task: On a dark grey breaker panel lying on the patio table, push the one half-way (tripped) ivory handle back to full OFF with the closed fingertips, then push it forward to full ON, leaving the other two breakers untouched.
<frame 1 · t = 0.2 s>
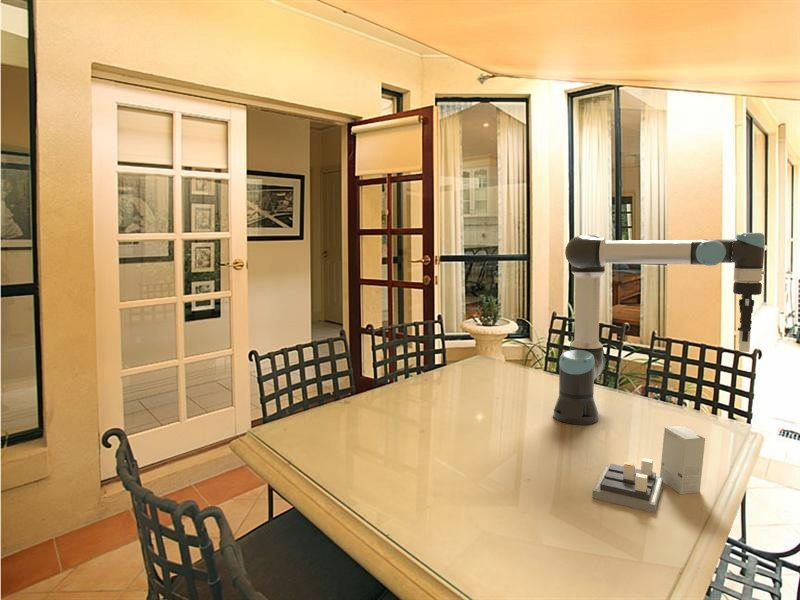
hand: (743, 347, 167), 28 cm above the table, fingers open, 13 cm apart
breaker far: (646, 466, 133), point 5 cm above the table, slide at 3.5 cm
skincare box: (680, 487, 134), on the table
breaker mid: (629, 470, 131), point 6 cm above the table, slide at 0.0 cm
panel: (628, 491, 132), on the table
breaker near: (641, 482, 125), point 5 cm above the table, slide at 3.5 cm
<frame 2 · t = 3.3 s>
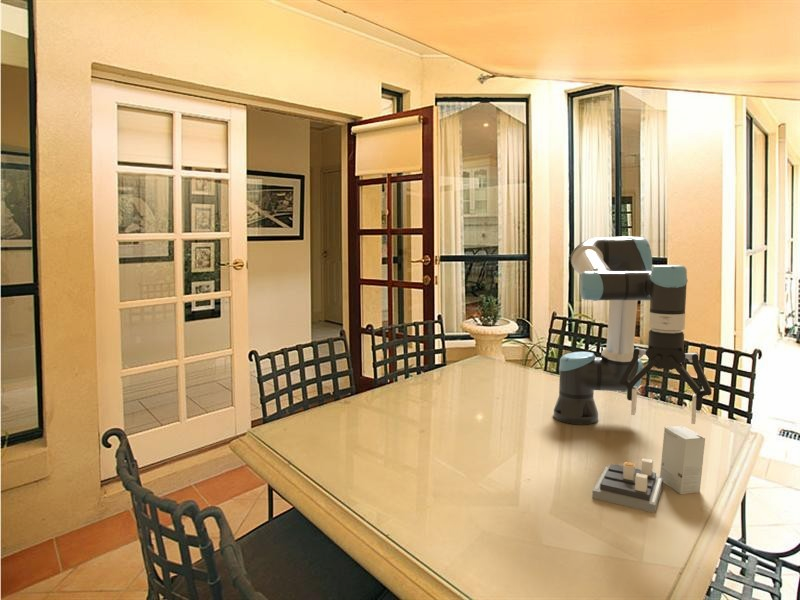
hand: (662, 417, 126), 21 cm above the table, fingers open, 12 cm apart
nothing on the table moved.
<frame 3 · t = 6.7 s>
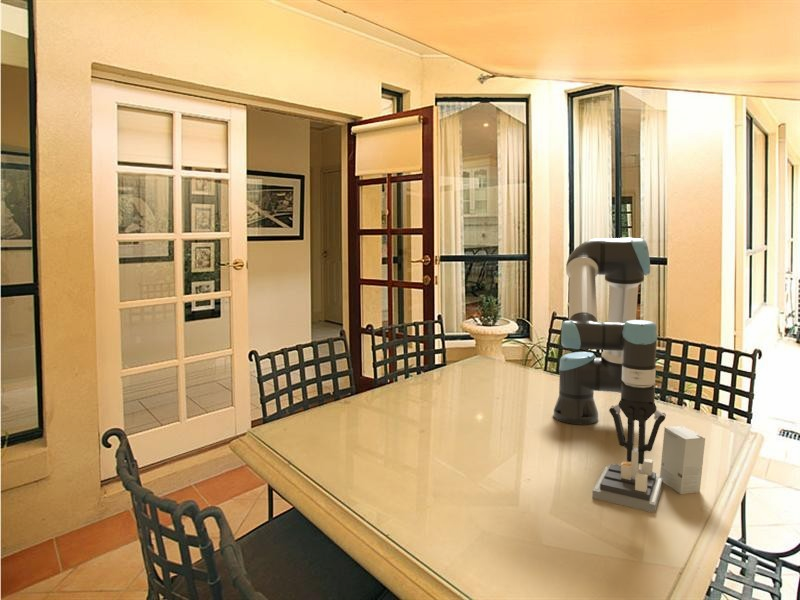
hand: (634, 474, 130), 5 cm above the table, fingers closed
breaker mid: (626, 470, 131), point 6 cm above the table, slide at -0.6 cm, touching gripper
everything else where it was.
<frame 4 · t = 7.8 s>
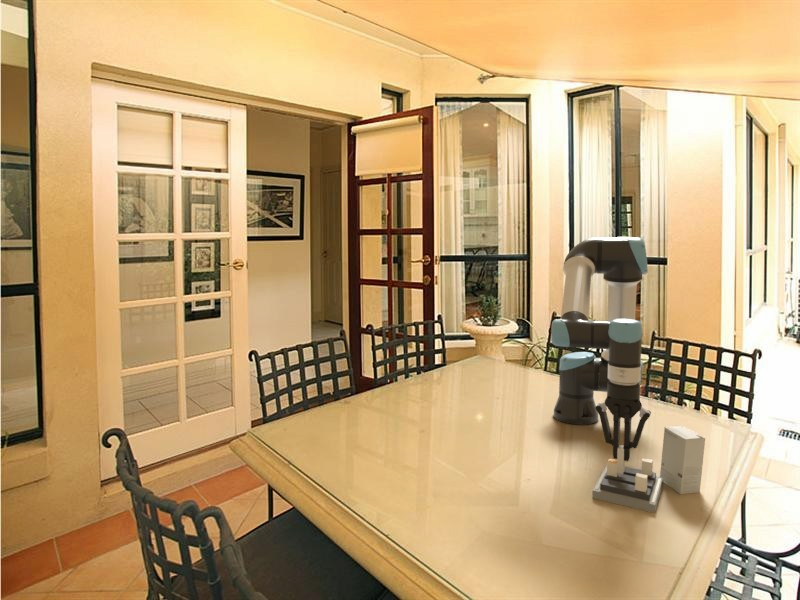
hand: (620, 471, 132), 5 cm above the table, fingers closed
breaker mid: (612, 467, 133), point 6 cm above the table, slide at -3.8 cm, touching gripper
everything else where it was.
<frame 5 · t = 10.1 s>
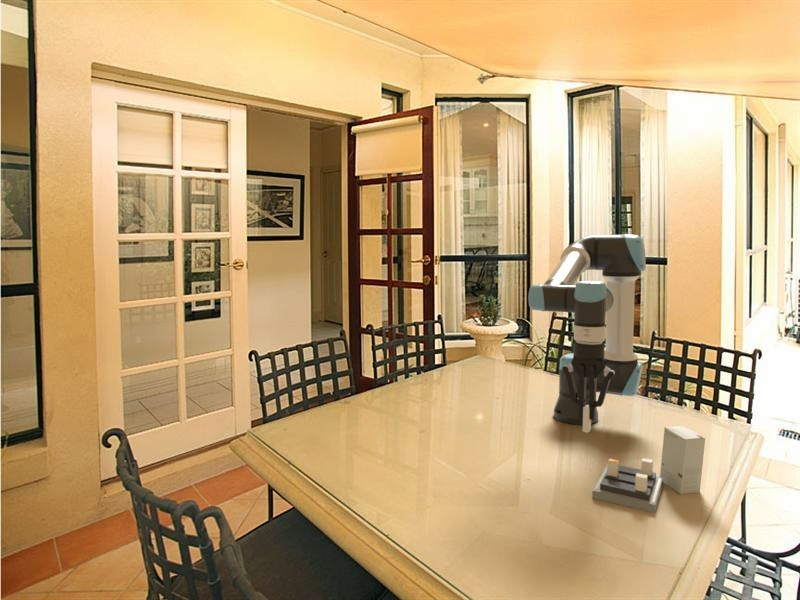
hand: (586, 430, 135), 14 cm above the table, fingers closed
breaker mid: (612, 467, 133), point 6 cm above the table, slide at -3.8 cm
everything else where it was.
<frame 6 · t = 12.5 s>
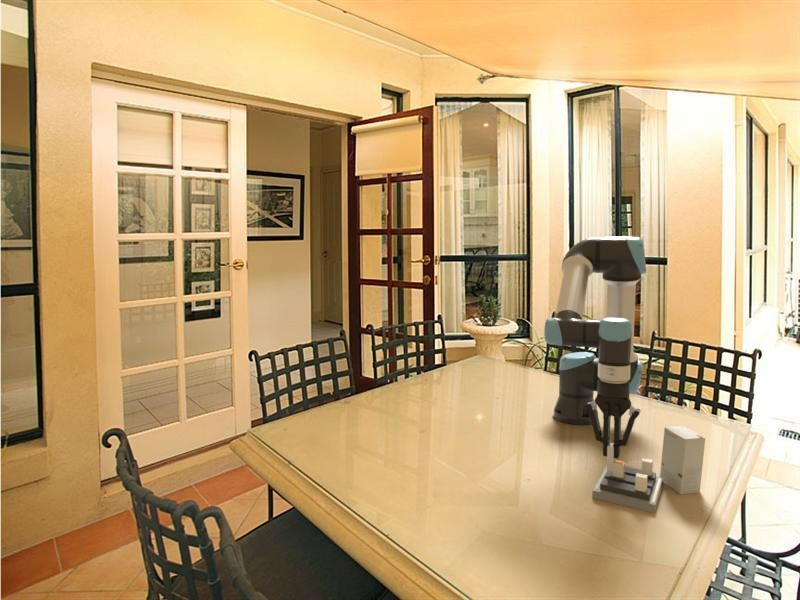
hand: (610, 469, 133), 5 cm above the table, fingers closed
breaker mid: (618, 468, 132), point 6 cm above the table, slide at -2.4 cm, touching gripper
everything else where it was.
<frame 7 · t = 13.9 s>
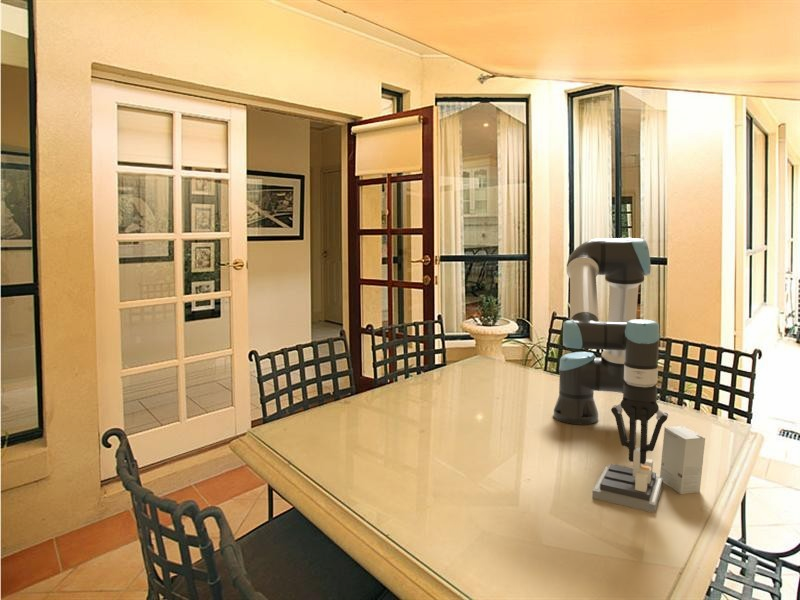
hand: (636, 474, 130), 5 cm above the table, fingers closed
breaker mid: (645, 474, 129), point 6 cm above the table, slide at 3.7 cm, touching gripper
everything else where it was.
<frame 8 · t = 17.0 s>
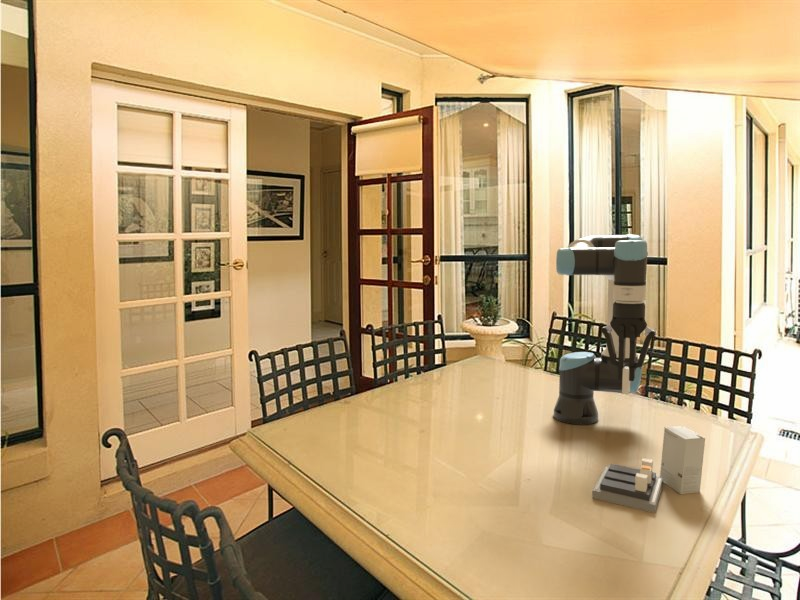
hand: (626, 392, 134), 24 cm above the table, fingers closed
breaker mid: (645, 474, 129), point 6 cm above the table, slide at 3.9 cm
everything else where it was.
at the end: breaker mid slide at 3.9 cm; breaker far slide at 3.5 cm; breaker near slide at 3.5 cm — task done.
